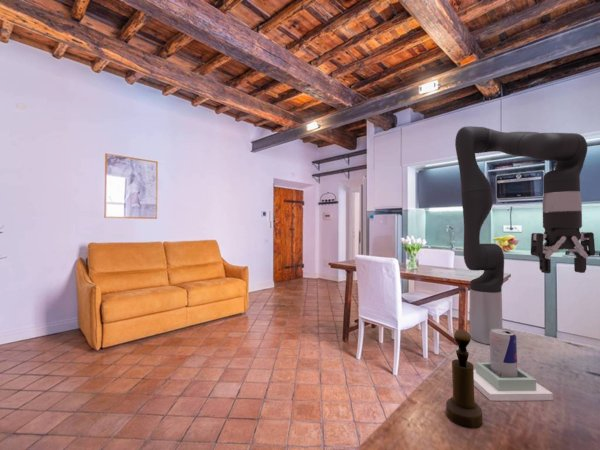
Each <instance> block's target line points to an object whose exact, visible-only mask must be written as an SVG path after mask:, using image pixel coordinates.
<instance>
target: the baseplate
mask: <svg viewBox="0 0 600 450" xmlns="http://www.w3.org/2000/svg"><path fill="white" fill-rule="evenodd" d="M517 371H518V378H500V377H498V376H497V375H496V374H494V373H493V372H492V371H491V361H489V362H488V361H487V362H486V361H485V362H483V361H482V362H479V361H478V362H477V361H476V362H475V369H474V388H476V389H477V390H478V391H479V392H480V393H481V394H482V395H484V396H485V398H487V399H488V401H490V402H492V401H493V402H495V401H498V402H499V401H500V402H501V401H502V402H503V401H506V402H509V401H512V402H514V401H522V402H523V401H554V393H553V392H551V391H550V390H548V389H547V388H546V387H544V386H542V385H541V384H539V383H537V379H535V378H534V377H533V376H531V375H530V374H528V373H527V372H525V371H524V370H522V369H521V368H519V367H517Z"/></svg>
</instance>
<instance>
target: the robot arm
mask: <svg viewBox="0 0 600 450" xmlns="http://www.w3.org/2000/svg"><path fill="white" fill-rule="evenodd" d="M454 143H455V145H454V146H455V152H456V158H457V164H458V169H459V176H460V191H461V195H460V196H461V205H462V215H463V216H462V217H463V261H464V264H465V266H466V268H467V269H468V270H469V271H483V273H482V274H481V275H480V276H478V277H476V278H473V279H471V280H470V282H469V297H470V299H469V301H470V302H469V305H470V308H469V334H470V333H471V335H470V337H471V339H472V340H473V341H476V342H477V343H481V344H486V345H490V331H491V329H492V328H503V291H502V290H503V288H502V287H503V285H504V279H505V278H504V276H505V275H504V274H505V255H504V251H503V249H502V247H501V246H500V245H498V244H497V243H480V236H481V229H482V227H483V224H484V223H485V221H486V219H487V218H488V216H489V214H490V212H491V211H492V208H493V204H494V203H493V202H494V201H493V190H492V186H491V185H492V184H491V183H490V181H489V180H488V178H487V177H486V175H485V174H484V172H483V171H482V169H481V168H480V167H479V165H478V162H477V157H476V154H483V153H493V152H494V153H495V152H498V153H503V154H506V155H510V156H515V157H523V158H530V159H531V158H532V159H535V160H540V161H547V162H549V161H550V162H556V164H555V168H554V170H550V171H547V172H545V174H544V175H543V180H542V181H543V188H542V189H543V190H542V191H543V194H542V195H543V197H542V228H543V229H544V232H543V233H541V232H532V233H531V236H530V255H531V256H534V257H537V258H538V259H539V263H538V264H539V271H540V272H541V273H543V274H551V273H552V268H551V267H552V265H551V263H552V261H551V256H552V255H553V254H554V253H556V252H557V251H558V250H559V251H560V250H567V251H569V252H571V253H572V255H573V256H574V259H573V260H574V261H573V263H574V265H573V266H574V267H573V268H574V272H575V273H580V274H584V273H586V270H587V258H589V257H591V256H592V257H593V256H595V254H596V247H595V245H596V244H595V234H594V232H591V231H588V232H587V231H582V232H581V231H580V230H581V228H582V227H583V208H582V204H583V202H582V196H581V179H580V175H581V173H582V170H583V167H584V163H585V160H586V157H587V153H588V143H587V140H586V138H585V137H584V136H583V135H581V133H575V132H539V131H537V132H536V131H509V132H507V131H505V132H504V131H499V130H494V129H491V128H488V127H484V126H462V127H461V128H459V130H458V131H457V133H456V135H455V142H454ZM544 241H545V242H544Z"/></svg>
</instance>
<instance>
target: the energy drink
mask: <svg viewBox="0 0 600 450" xmlns="http://www.w3.org/2000/svg"><path fill="white" fill-rule="evenodd" d="M517 346H518V345H517V336H516V333H515V332H514V331H513V330H510V329H507V328H504V327H502V328H492V329H491V331H490V344H489V351H490V352H489V354H490V362H491V371H492V372H493V373H494V374H496V375H497V376H498V377H500V378H518V371H517V368H518V350H517V349H518V348H517Z"/></svg>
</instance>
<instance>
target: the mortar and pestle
mask: <svg viewBox="0 0 600 450" xmlns="http://www.w3.org/2000/svg"><path fill="white" fill-rule="evenodd" d="M453 339H454V341H455V342H456V345H457V346H458V349H456V350H455V351H456V353H455V354H456V357H457V359H456V358H455V359H452V360H451V373H452V374H451V375H452V376H451V378H452V381H451V382H452V396H451V397H449V398H448V399H447V400H446V404H445V408H446V409H445V412H446V416H447V417H448V419H449V420H450V421H452V422H453V423H455V424H457V425H459V426H461V427H464V428H471V429H472V428H479V427H480V426H482V424H483V410H482V408H481V406H480V405H478V404H477V402H476V401H475V386H474V370H475V369H474V367H475V366H474V364H473V363H472V362H470V361H468V359H469V353H470V352H469V351H468V350H467V347H468V345H469V343H470V342H471V339H472V338H471V335H470V332H468V331H467V330H465V329H456V330H455V331H454V333H453Z"/></svg>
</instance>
